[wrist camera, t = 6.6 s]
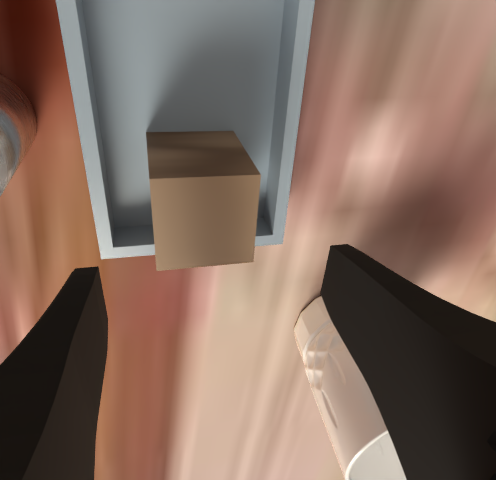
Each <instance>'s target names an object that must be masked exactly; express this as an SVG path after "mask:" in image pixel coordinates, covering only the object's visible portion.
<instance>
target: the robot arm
mask: <svg viewBox="0 0 496 480" xmlns="http://www.w3.org/2000/svg"><path fill="white" fill-rule="evenodd" d="M320 294H321V296H322V299H323V302H324V304H325V307H326V309H327V312H328V314H329V317H330V319H331V321H332V323H333V325H334V326H335V328H336V330H337V332H338V333H339V335H340V337H341V339H342V341H343V342H344V344H345V346H346V347H347V349H348V351H349V353H350V354H351V356H352V358H353V360H354V361H355V363H356V365H357V366H358V368H359V370H360V372H361V373H362V375H363V377H364V379H365V381H366V383H367V385H368V387H369V389H370V391H371V393H372V395H373V398H374V400H375V402H376V404H377V407H378V409H379V411H380V413H381V416H382V418H383V420H384V423H385V425H386V428H387V430H388V433H389V435H390V437H391V440H392V442H393V445H394V447H395V450H396V453H397V455H398V458H399V461H400V463H401V466H402V469H403V471H404V474H405V477H406V479H407V480H496V322H493V321H491V320H488V319H486V318H483V317H481V316H478V315H476V314H473V313H471V312H469V311H466V310H464V309H462V308H460V307H458V306H456V305H454V304H451V303H449V302H447V301H445V300H443V299H441V298H439V297H437V296H435V295H433V294H431V293H430V292H428V291H426V290H424V289H422V288H420V287H419V286H417V285H415V284H413V283H412V282H410V281H408V280H406V279H405V278H403V277H401V276H400V275H398V274H396V273H395V272H393V271H391V270H390V269H388V268H387V267H385V266H383V265H382V264H380V263H379V262H377V261H375V260H374V259H372V258H371V257H369V256H367V255H366V254H364V253H362V252H361V251H359V250H357V249H356V248H354V247H352V246H350V245H348V244H344V245H332V246H330V251H329V256H328V260H327V265H326V270H325V274H324V279H323V284H322V288H321V293H320ZM107 344H108V317H107V311H106V306H105V300H104V295H103V290H102V284H101V279H100V273H99V268H98V267H88V268H77V269H75V270H74V271H73V272H72V273H71V275H70V276H69V278H68V279H67V281H66V282H65V284H64V286H63V287H62V289H61V290H60V292H59V293H58V294H57V296H56V297H55V299H54V300H53V302H52V303H51V304H50V306H49V307H48V308H47V310H46V311H45V313H44V314H43V315H42V317H41V318H40V319H39V321H38V322H37V323H36V324H35V326H34V327H33V328H32V329H31V330H30V332H29V333H28V334H27V335H26V336H25V338H24V339H23V340H22V341H21V342H20V344H19V345H18V346H17V347H16V348H15V349H14V351H13V352H12V353H11V354H10V355H9V356H8V357H7V358H6V359H5V360H4V361H3V363H2V364H1V365H0V480H94V466H95V441H96V430H97V420H98V413H99V406H100V399H101V392H102V385H103V378H104V371H105V364H106V357H107Z"/></svg>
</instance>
